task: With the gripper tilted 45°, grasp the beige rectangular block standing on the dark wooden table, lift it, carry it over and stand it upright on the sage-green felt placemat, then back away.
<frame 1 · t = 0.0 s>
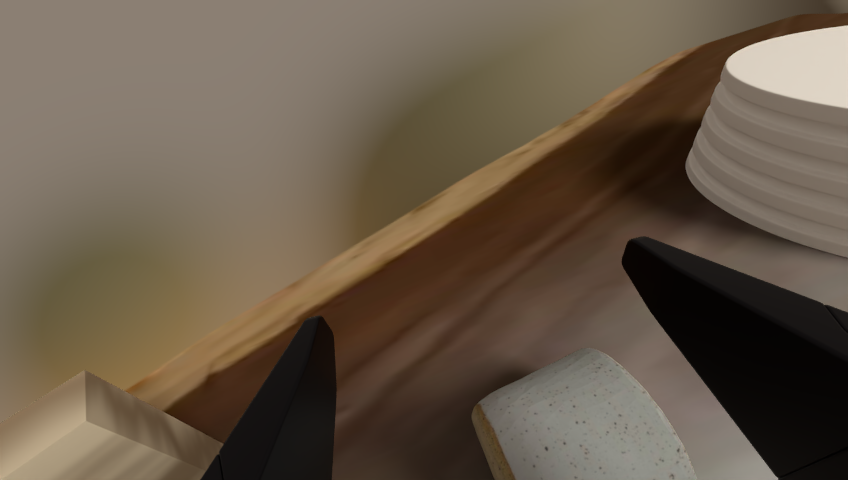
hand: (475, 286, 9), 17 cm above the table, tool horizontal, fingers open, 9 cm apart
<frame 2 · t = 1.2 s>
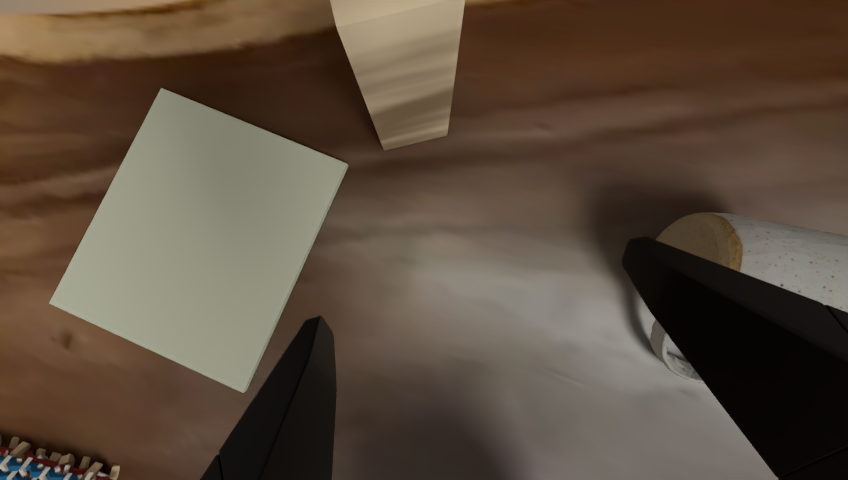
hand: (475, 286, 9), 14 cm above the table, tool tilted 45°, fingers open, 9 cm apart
sage placemat: (204, 233, 23), on the table
beige rectangular block: (410, 122, 24), on the table
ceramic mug: (690, 297, 22), on the table
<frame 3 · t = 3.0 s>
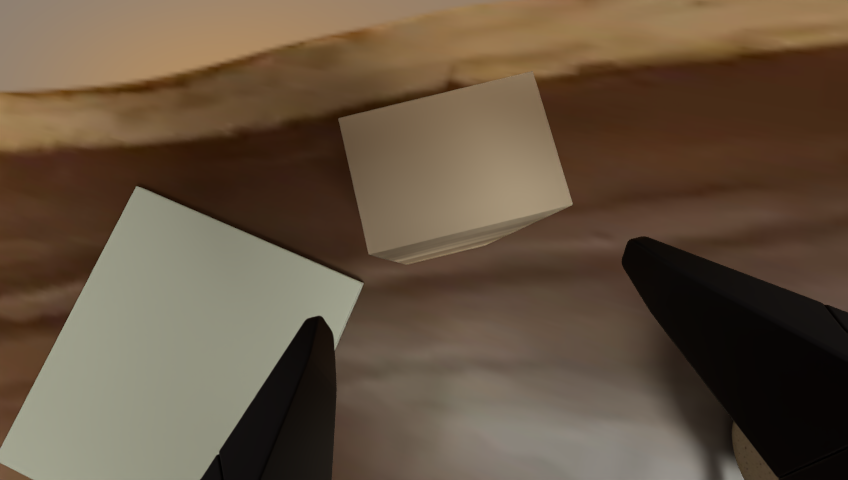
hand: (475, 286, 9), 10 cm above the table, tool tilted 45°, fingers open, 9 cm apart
sage placemat: (186, 368, 19), on the table
beige rectangular block: (438, 228, 19), on the table
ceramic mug: (786, 461, 18), on the table
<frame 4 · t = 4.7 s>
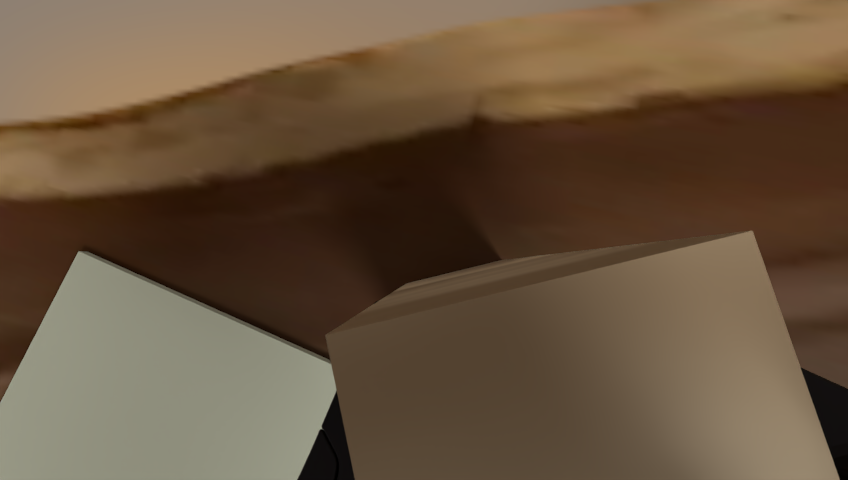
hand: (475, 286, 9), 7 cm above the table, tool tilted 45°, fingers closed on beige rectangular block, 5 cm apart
beige rectangular block: (462, 305, 15), on the table, touching gripper
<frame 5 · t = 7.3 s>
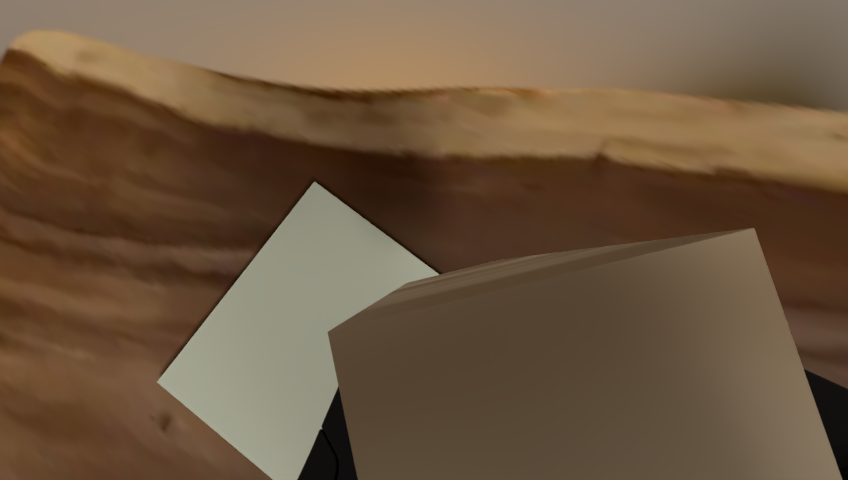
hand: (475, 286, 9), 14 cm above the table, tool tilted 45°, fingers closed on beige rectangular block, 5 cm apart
sage placemat: (325, 345, 22), on the table
beige rectangular block: (463, 305, 15), point 7 cm above the table, touching gripper
when the fingers open (9 cm above the table, at t = 9.7 s): beige rectangular block drops 2 cm, resting on sage placemat.
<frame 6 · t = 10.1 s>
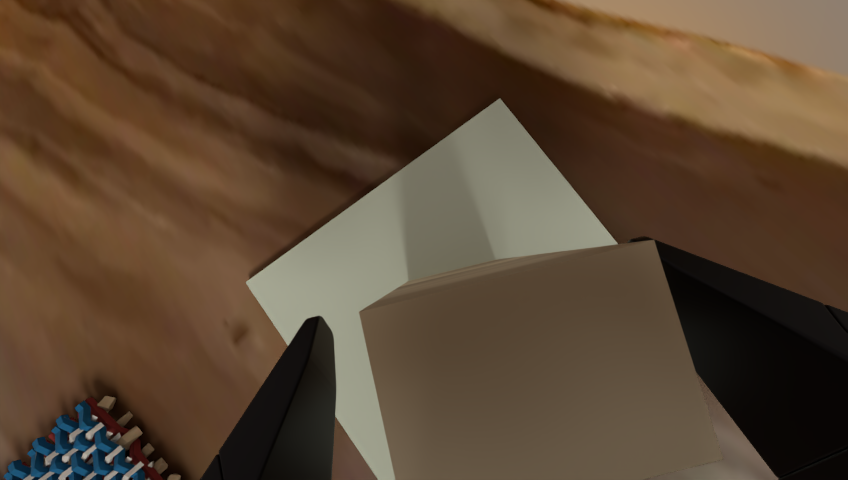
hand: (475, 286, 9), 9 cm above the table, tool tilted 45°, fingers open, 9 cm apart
sage placemat: (458, 301, 17), on the table
beige rectangular block: (459, 301, 17), resting on sage placemat
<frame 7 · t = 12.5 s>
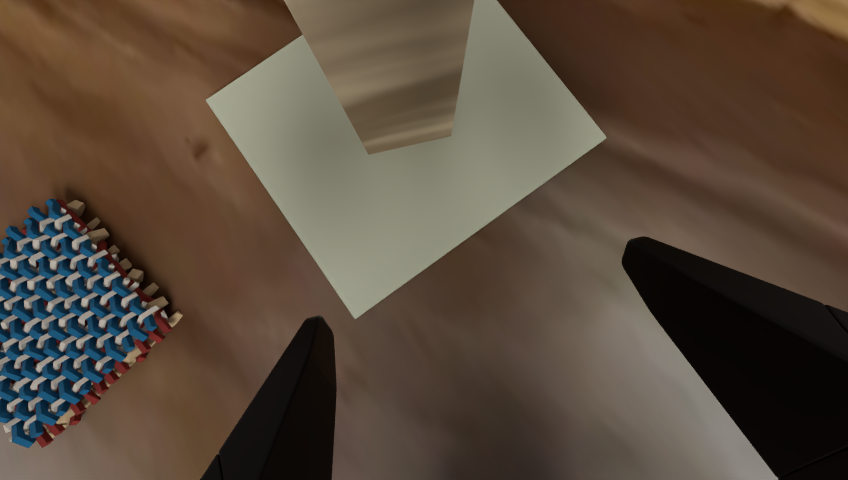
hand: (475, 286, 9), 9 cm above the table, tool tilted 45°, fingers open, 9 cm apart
sage placemat: (403, 121, 19), on the table
woven mat: (79, 315, 19), on the table
beige rectangular block: (403, 117, 18), resting on sage placemat
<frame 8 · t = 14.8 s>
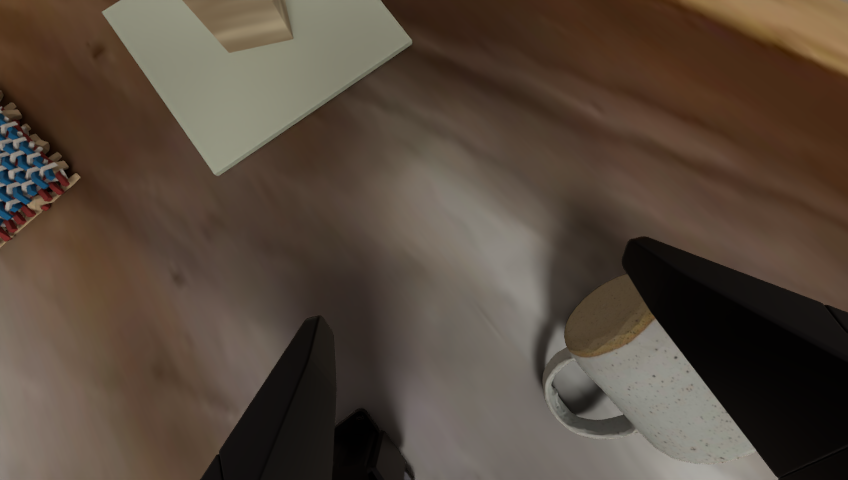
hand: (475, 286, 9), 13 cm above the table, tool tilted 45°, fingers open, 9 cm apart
sage placemat: (259, 30, 24), on the table
beige rectangular block: (257, 25, 24), resting on sage placemat
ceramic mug: (603, 356, 22), on the table
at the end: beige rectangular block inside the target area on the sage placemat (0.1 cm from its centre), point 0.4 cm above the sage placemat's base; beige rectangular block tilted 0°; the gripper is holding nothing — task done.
